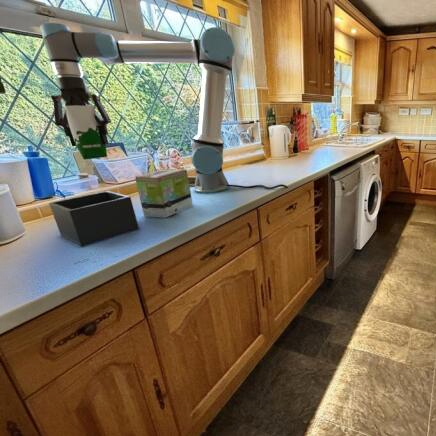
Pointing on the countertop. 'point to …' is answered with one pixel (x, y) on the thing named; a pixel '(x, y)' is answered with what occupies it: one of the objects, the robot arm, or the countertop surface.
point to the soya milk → (85, 131)
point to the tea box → (164, 192)
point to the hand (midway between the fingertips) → (90, 144)
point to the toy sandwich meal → (191, 180)
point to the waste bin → (94, 217)
